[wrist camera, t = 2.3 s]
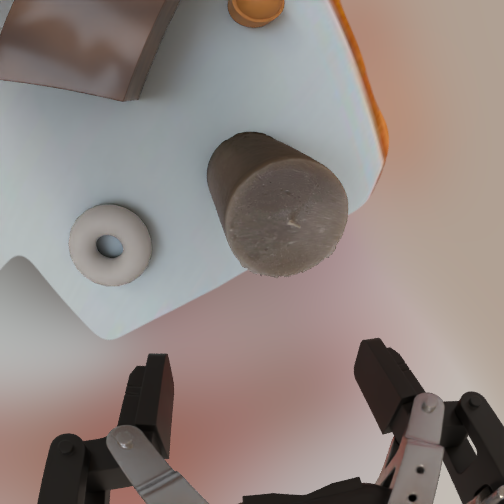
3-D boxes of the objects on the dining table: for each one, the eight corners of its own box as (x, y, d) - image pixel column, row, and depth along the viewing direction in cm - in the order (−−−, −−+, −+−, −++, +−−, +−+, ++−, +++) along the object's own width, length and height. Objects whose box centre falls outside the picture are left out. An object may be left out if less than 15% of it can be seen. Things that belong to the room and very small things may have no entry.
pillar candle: (235, 115, 31) (277, 132, 18) (307, 159, 35) (380, 204, 22) (190, 192, 34) (200, 260, 21) (263, 228, 38) (308, 303, 25)
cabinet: (82, -45, 17) (58, -78, 9) (195, -27, 22) (202, -64, 14) (28, 78, 23) (-14, 78, 15) (138, 100, 28) (123, 102, 20)
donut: (127, 184, 32) (58, 224, 32) (123, 193, 29) (48, 236, 29) (167, 256, 37) (100, 288, 37) (167, 271, 34) (96, 304, 34)
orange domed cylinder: (219, 17, 25) (226, 6, 21) (238, -20, 23) (248, -35, 19) (265, 34, 27) (279, 26, 23) (283, -2, 25) (298, -14, 21)
